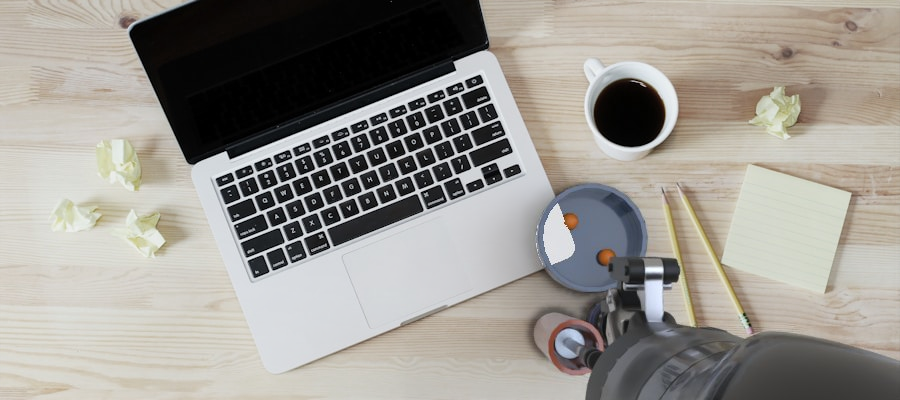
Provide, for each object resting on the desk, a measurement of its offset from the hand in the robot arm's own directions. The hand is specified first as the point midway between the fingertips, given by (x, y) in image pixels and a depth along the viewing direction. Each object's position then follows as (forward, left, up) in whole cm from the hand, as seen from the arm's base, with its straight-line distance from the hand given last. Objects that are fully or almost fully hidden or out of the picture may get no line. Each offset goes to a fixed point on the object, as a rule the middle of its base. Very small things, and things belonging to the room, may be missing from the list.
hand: (619, 375), depth 46 cm
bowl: (+11, -4, -42) cm, 43 cm away
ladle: (0, 0, -27) cm, 27 cm away
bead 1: (+13, -2, -40) cm, 42 cm away
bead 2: (+9, -6, -40) cm, 41 cm away
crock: (0, 0, -42) cm, 42 cm away
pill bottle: (+1, -7, -42) cm, 42 cm away
